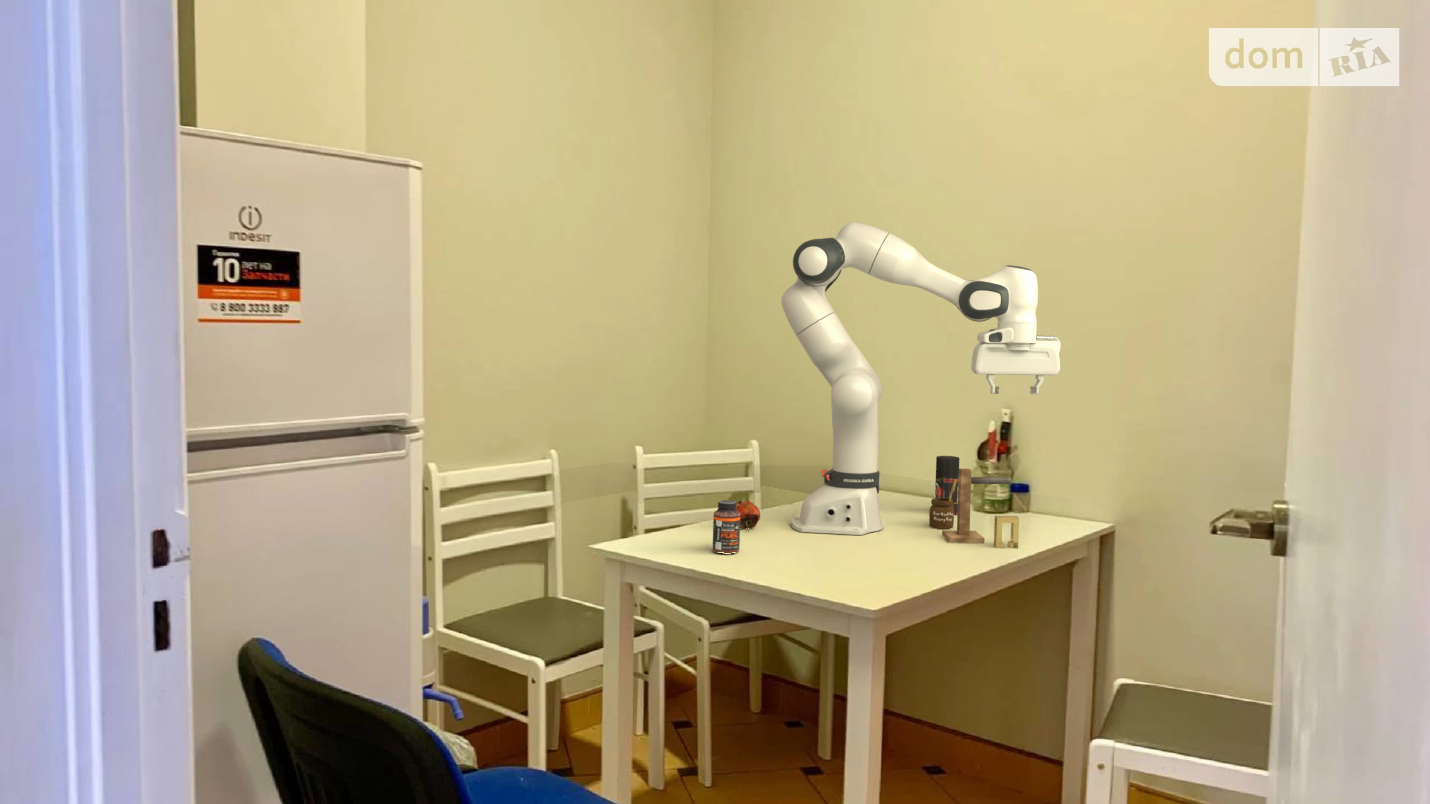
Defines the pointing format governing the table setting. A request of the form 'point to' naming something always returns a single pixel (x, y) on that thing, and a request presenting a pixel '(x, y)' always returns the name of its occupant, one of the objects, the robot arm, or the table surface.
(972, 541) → the stand
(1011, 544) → the tan wooden arch piece
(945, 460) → the deodorant
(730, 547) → the supplement bottle
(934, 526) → the utensil holder
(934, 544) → the table surface
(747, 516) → the pomegranate
